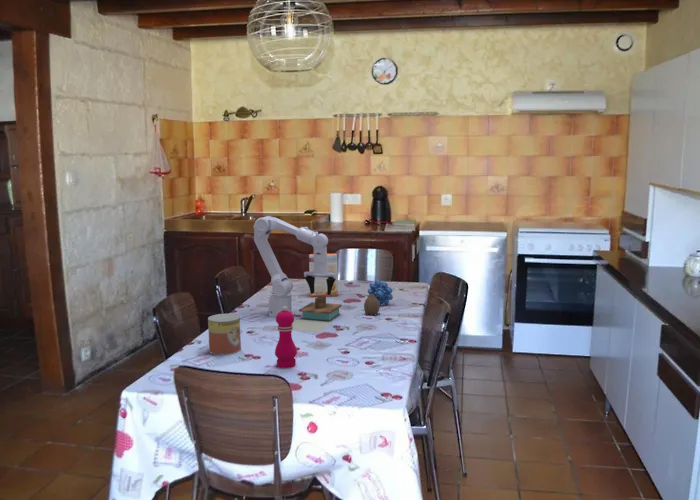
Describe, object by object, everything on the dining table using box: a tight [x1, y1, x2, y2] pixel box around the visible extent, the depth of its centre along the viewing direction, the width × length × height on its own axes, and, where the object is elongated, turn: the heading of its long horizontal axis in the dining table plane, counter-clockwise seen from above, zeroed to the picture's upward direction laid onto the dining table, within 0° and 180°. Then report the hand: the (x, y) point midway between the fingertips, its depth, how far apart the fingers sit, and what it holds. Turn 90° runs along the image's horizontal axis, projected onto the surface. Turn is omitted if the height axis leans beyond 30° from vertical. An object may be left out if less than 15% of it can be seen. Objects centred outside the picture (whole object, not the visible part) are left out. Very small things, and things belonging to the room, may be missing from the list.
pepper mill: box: [274, 306, 298, 369], centre depth 202 cm, size 7×7×20 cm
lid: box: [298, 296, 343, 314], centre depth 262 cm, size 14×14×5 cm
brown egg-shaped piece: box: [363, 293, 381, 316], centre depth 267 cm, size 7×7×9 cm
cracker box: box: [308, 252, 339, 298], centre depth 304 cm, size 14×6×21 cm, turn 94°
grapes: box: [367, 279, 394, 306], centre depth 282 cm, size 12×7×12 cm, turn 86°
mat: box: [292, 318, 333, 333], centre depth 249 cm, size 16×16×1 cm
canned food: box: [207, 313, 242, 356], centre depth 219 cm, size 11×11×12 cm
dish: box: [302, 308, 340, 322], centre depth 263 cm, size 12×12×4 cm
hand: (320, 293), depth 261 cm, fingers open, 7 cm apart
